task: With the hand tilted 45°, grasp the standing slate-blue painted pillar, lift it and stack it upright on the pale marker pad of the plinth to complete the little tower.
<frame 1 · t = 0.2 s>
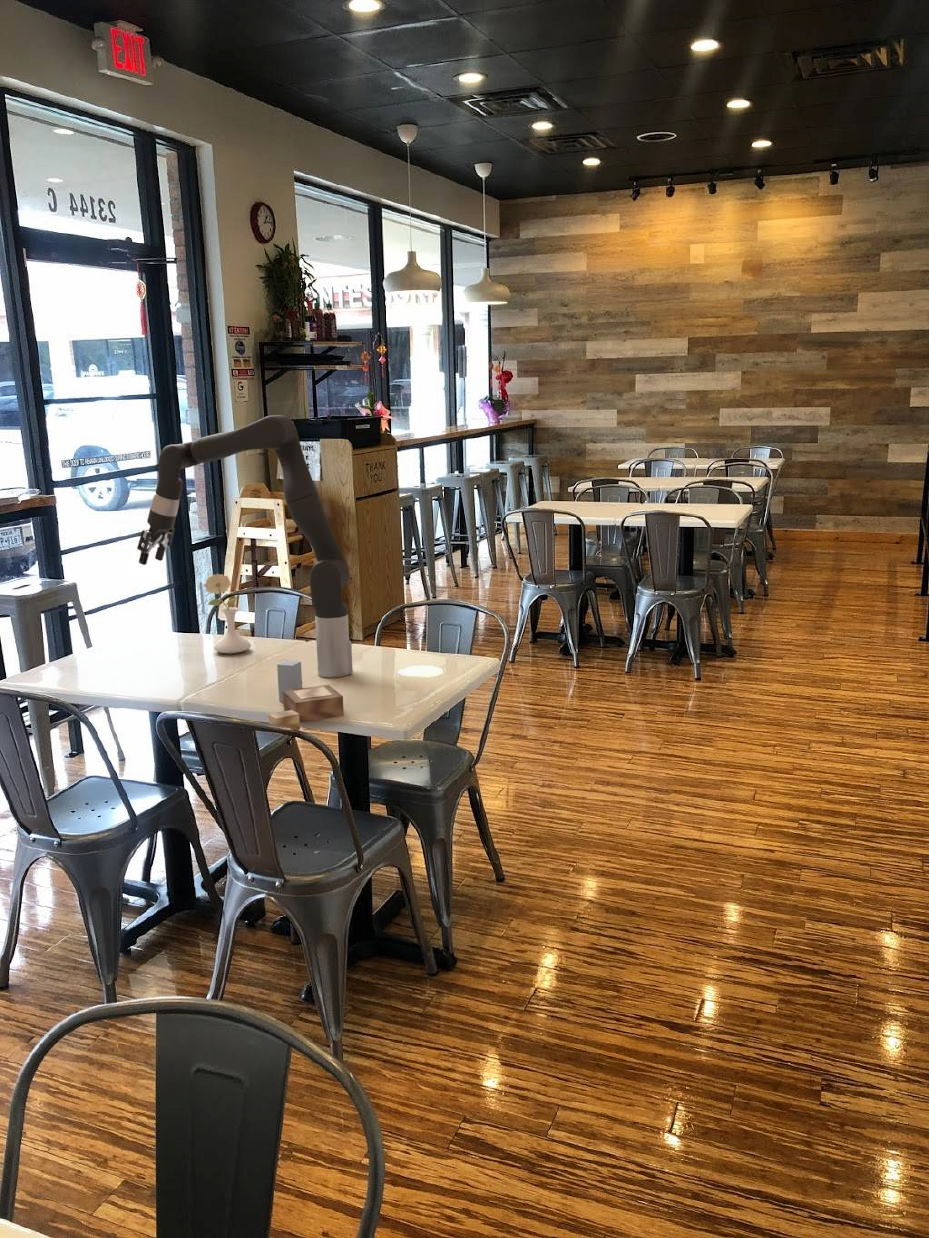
hand: (150, 561, 308), 31 cm above the table, tool tilted 20°, fingers open, 8 cm apart
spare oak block: (284, 730, 250), on the table
pillar: (291, 699, 275), on the table
flower in vase: (230, 652, 329), on the table
plinth: (313, 712, 263), on the table
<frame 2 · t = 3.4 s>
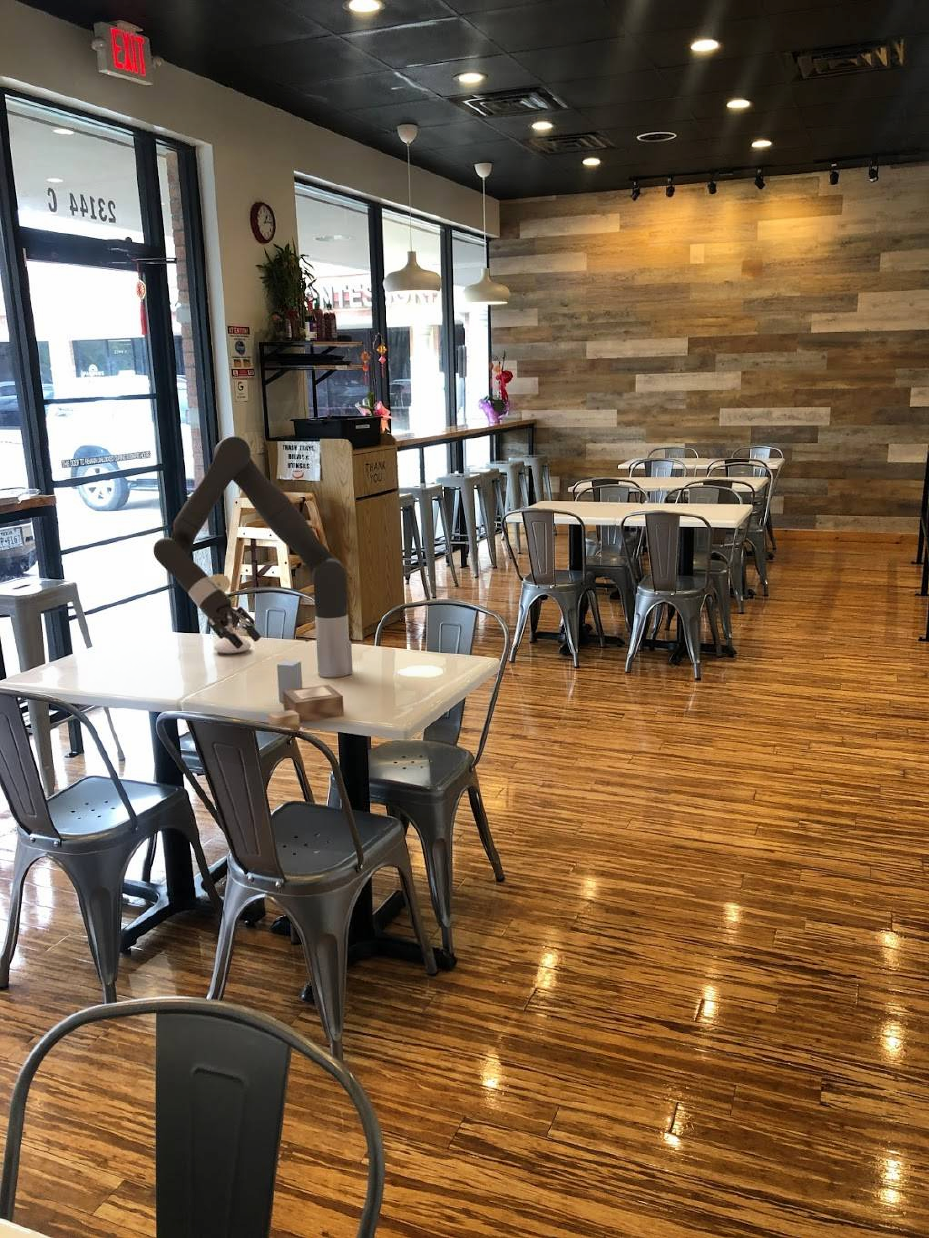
hand: (249, 642, 276), 15 cm above the table, tool tilted 45°, fingers open, 8 cm apart
nothing on the table moved.
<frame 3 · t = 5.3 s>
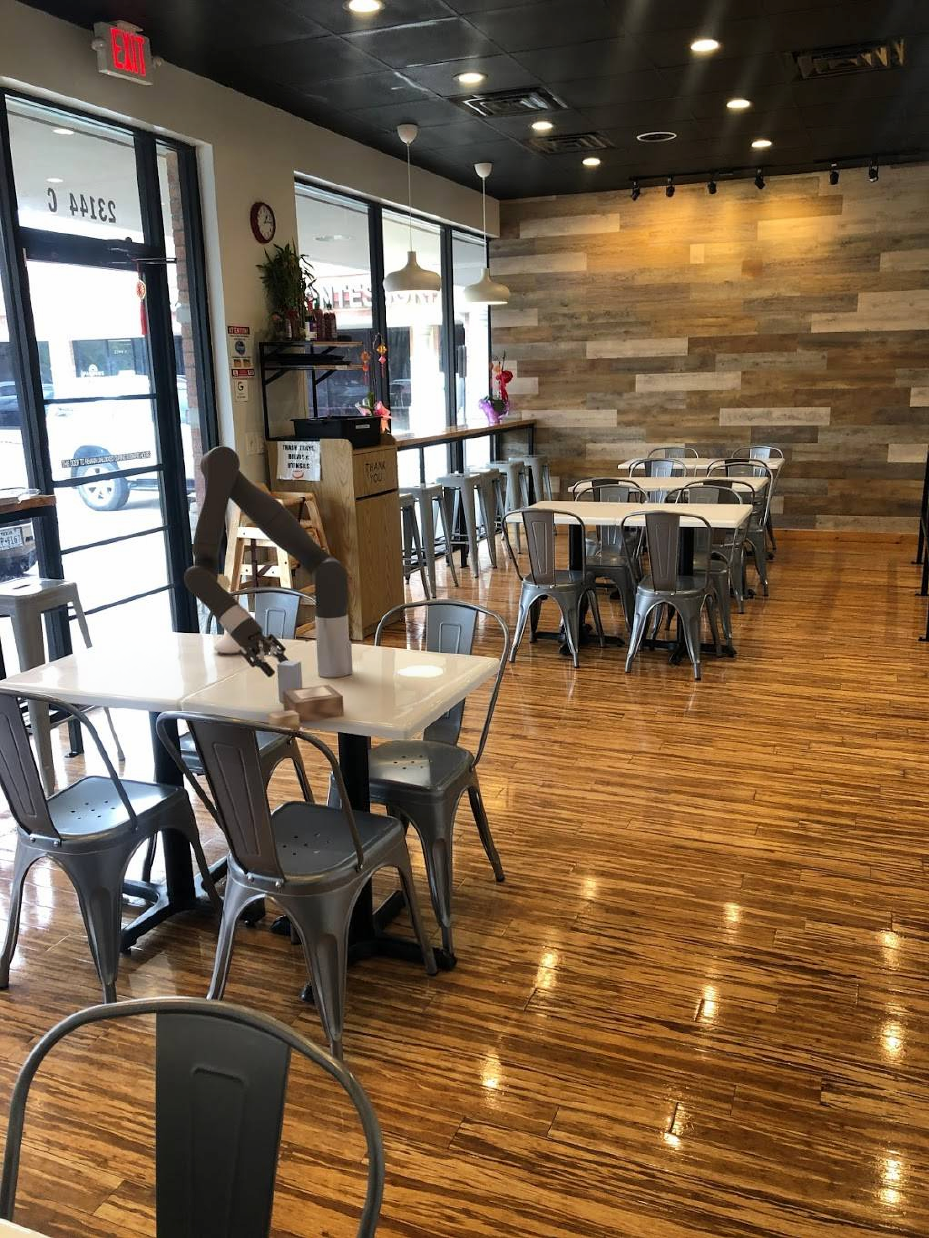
hand: (281, 671, 274), 8 cm above the table, tool tilted 45°, fingers open, 8 cm apart
nothing on the table moved.
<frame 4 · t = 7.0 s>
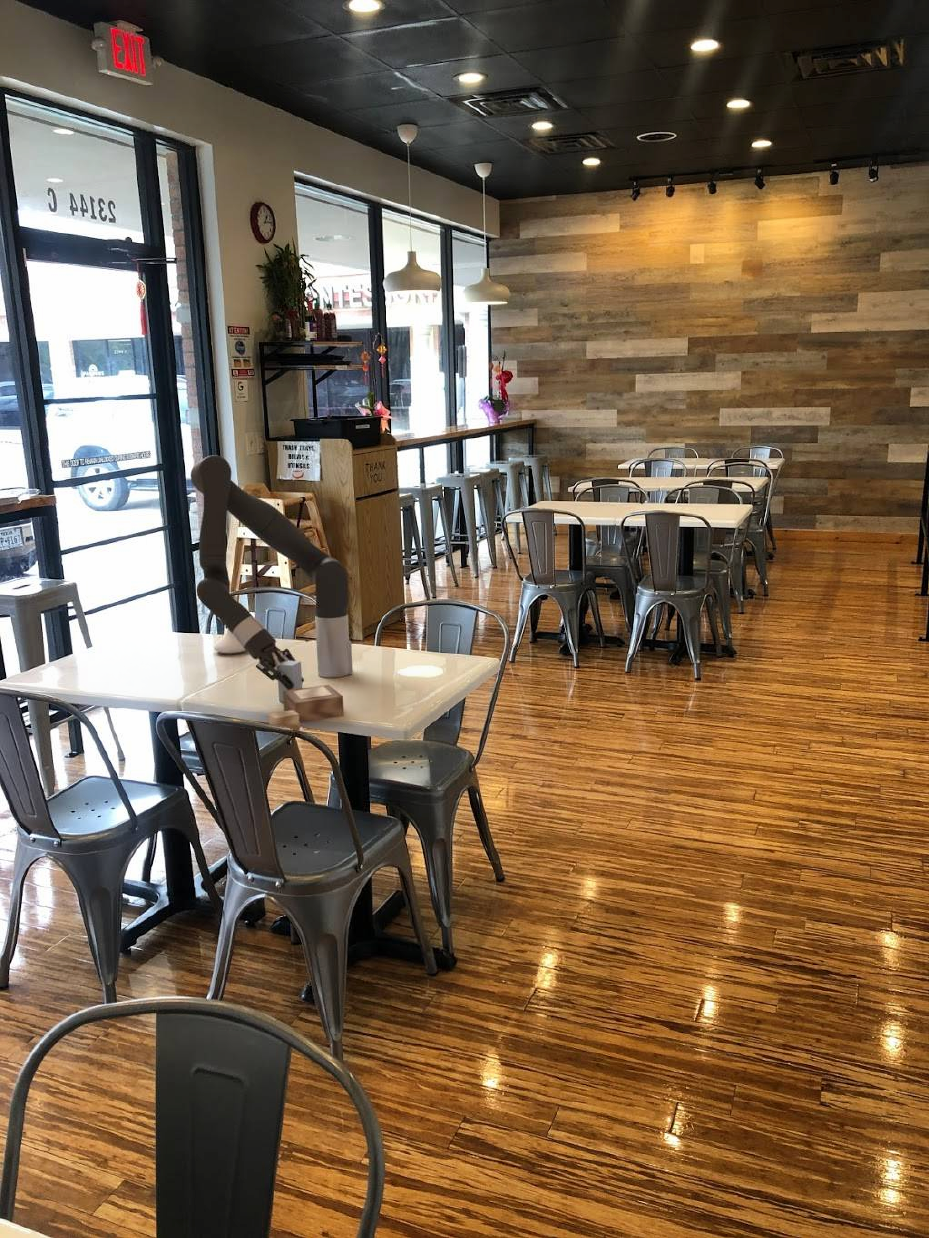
hand: (296, 685, 274), 4 cm above the table, tool tilted 45°, fingers closed on pillar, 4 cm apart
pillar: (291, 699, 275), on the table, touching gripper
everything else where it was.
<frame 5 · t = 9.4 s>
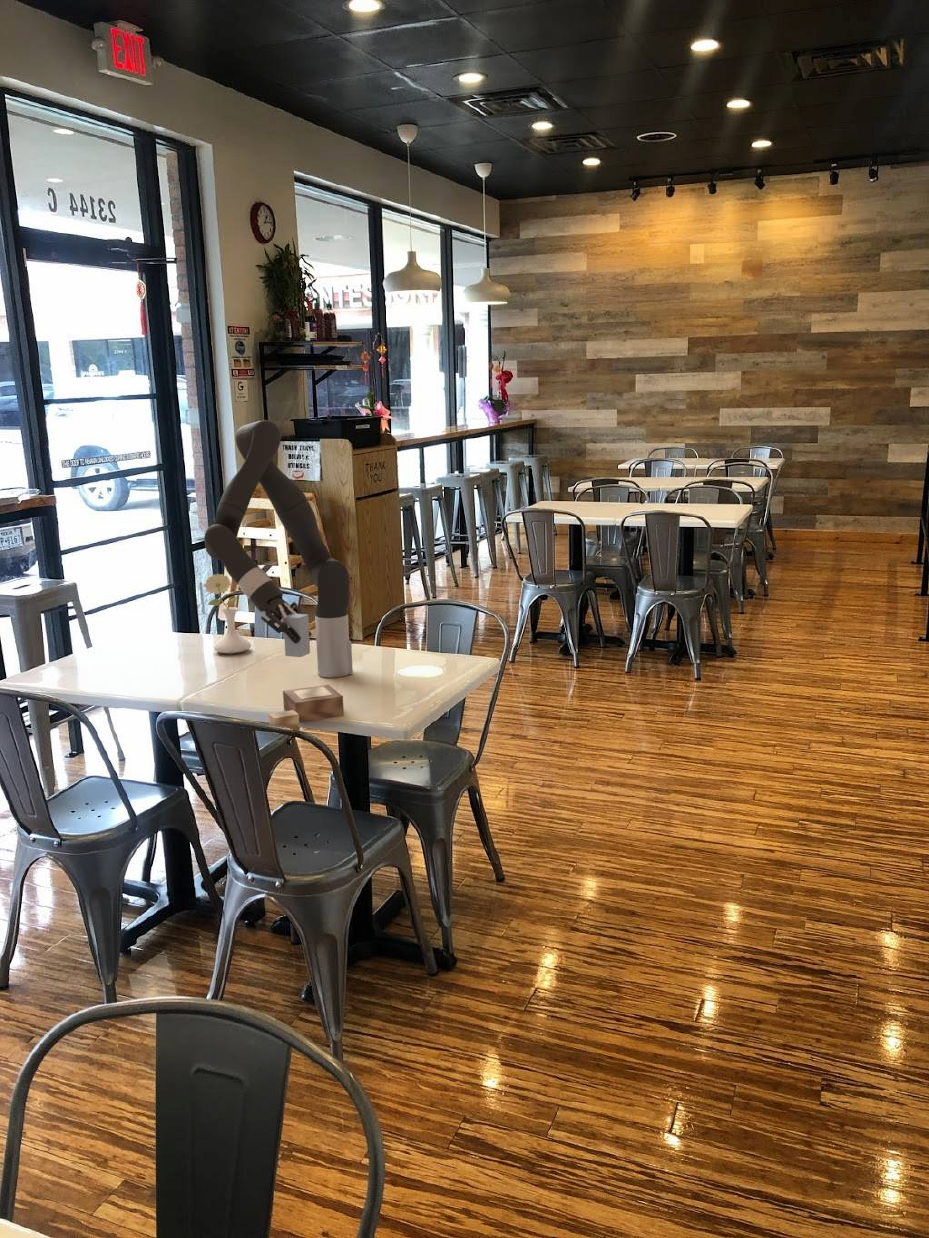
hand: (303, 639, 263), 18 cm above the table, tool tilted 45°, fingers closed on pillar, 4 cm apart
pillar: (297, 654, 265), point 14 cm above the table, touching gripper
everything else where it was.
when the fingers open (10 cm above the table, at t = 12.0 s): pillar stays where it is, resting on plinth.
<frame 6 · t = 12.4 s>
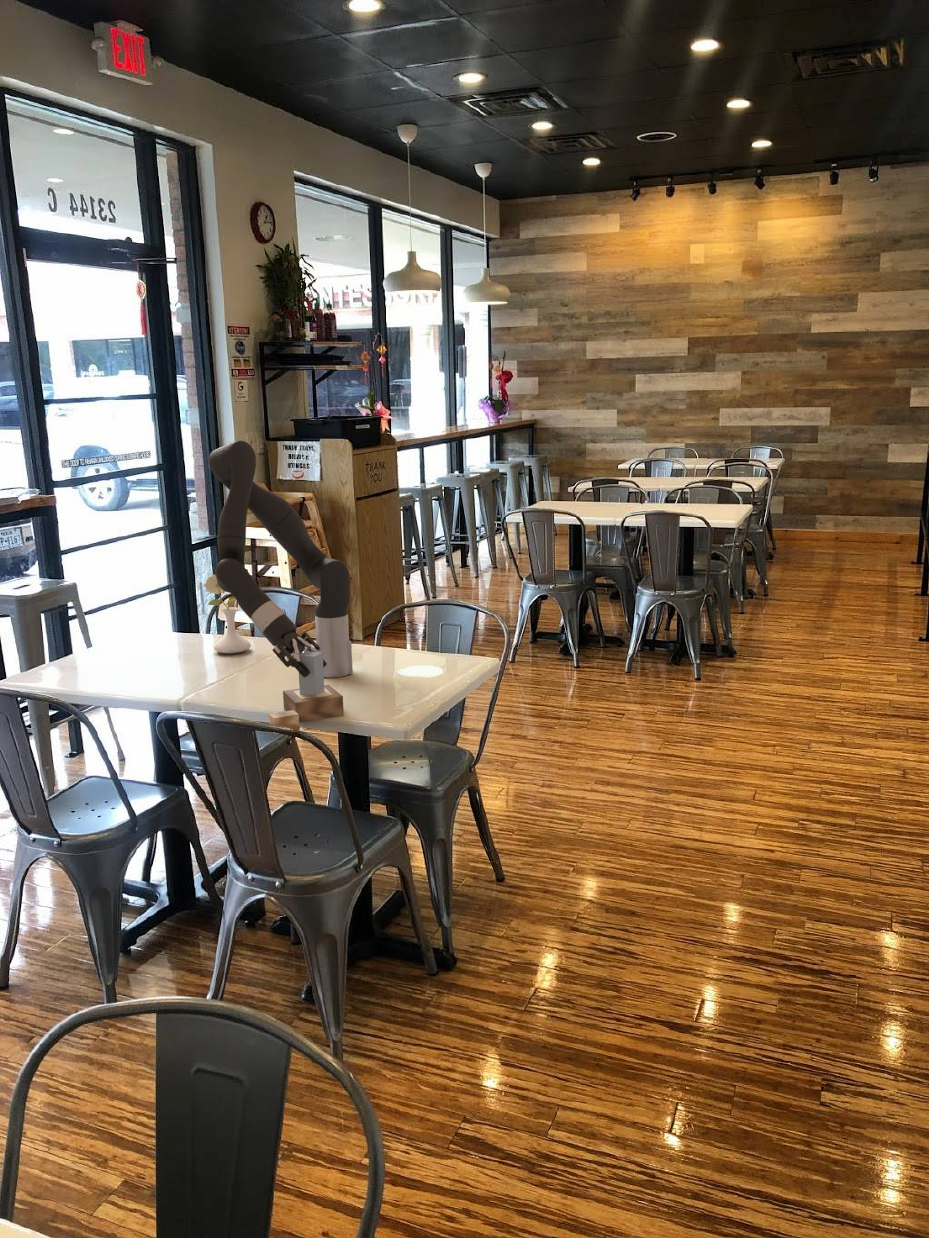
hand: (316, 671, 261), 11 cm above the table, tool tilted 45°, fingers open, 8 cm apart
pillar: (312, 692, 262), point 5 cm above the table, touching plinth
everything else where it was.
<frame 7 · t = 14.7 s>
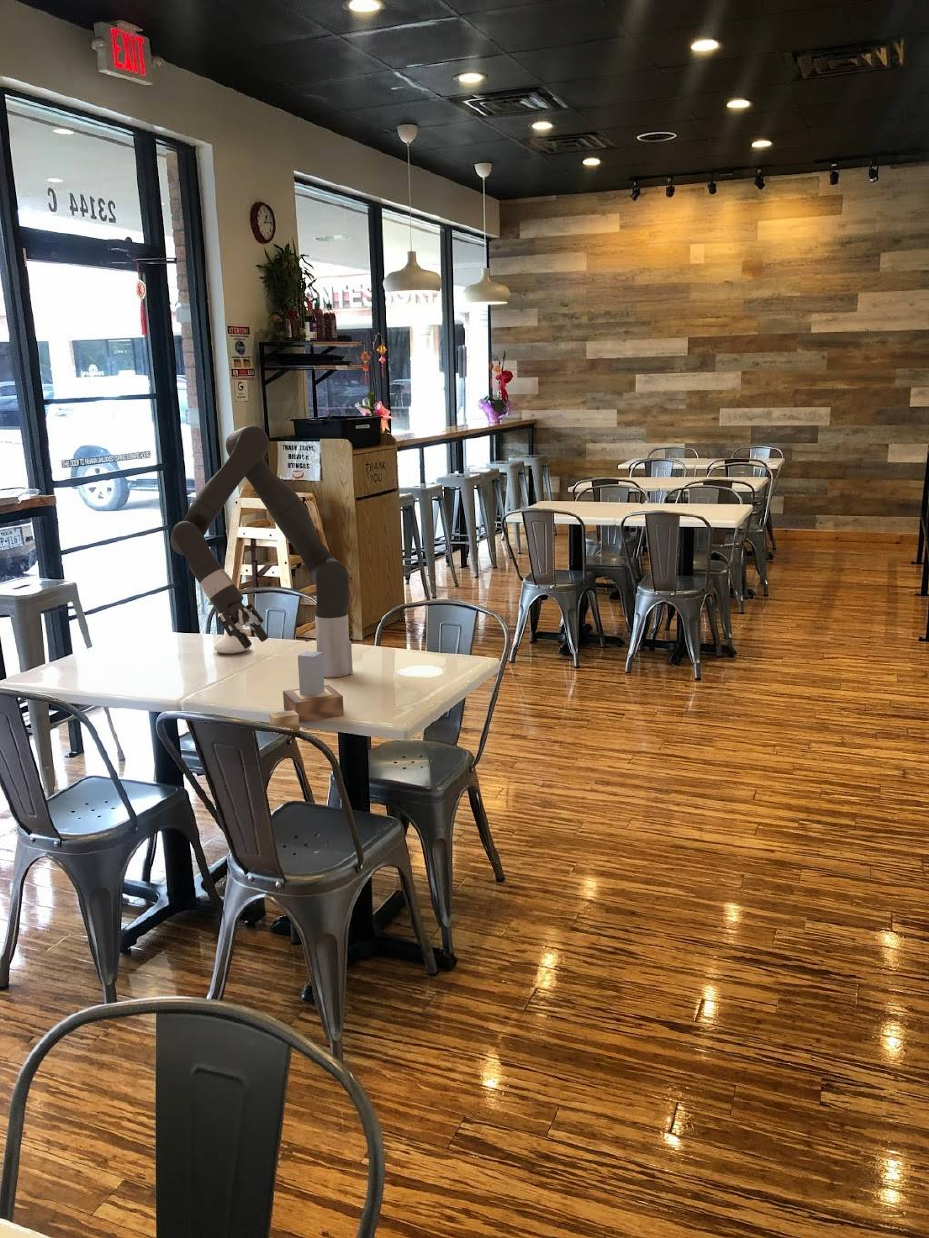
hand: (257, 643, 267), 16 cm above the table, tool tilted 35°, fingers open, 8 cm apart
nothing on the table moved.
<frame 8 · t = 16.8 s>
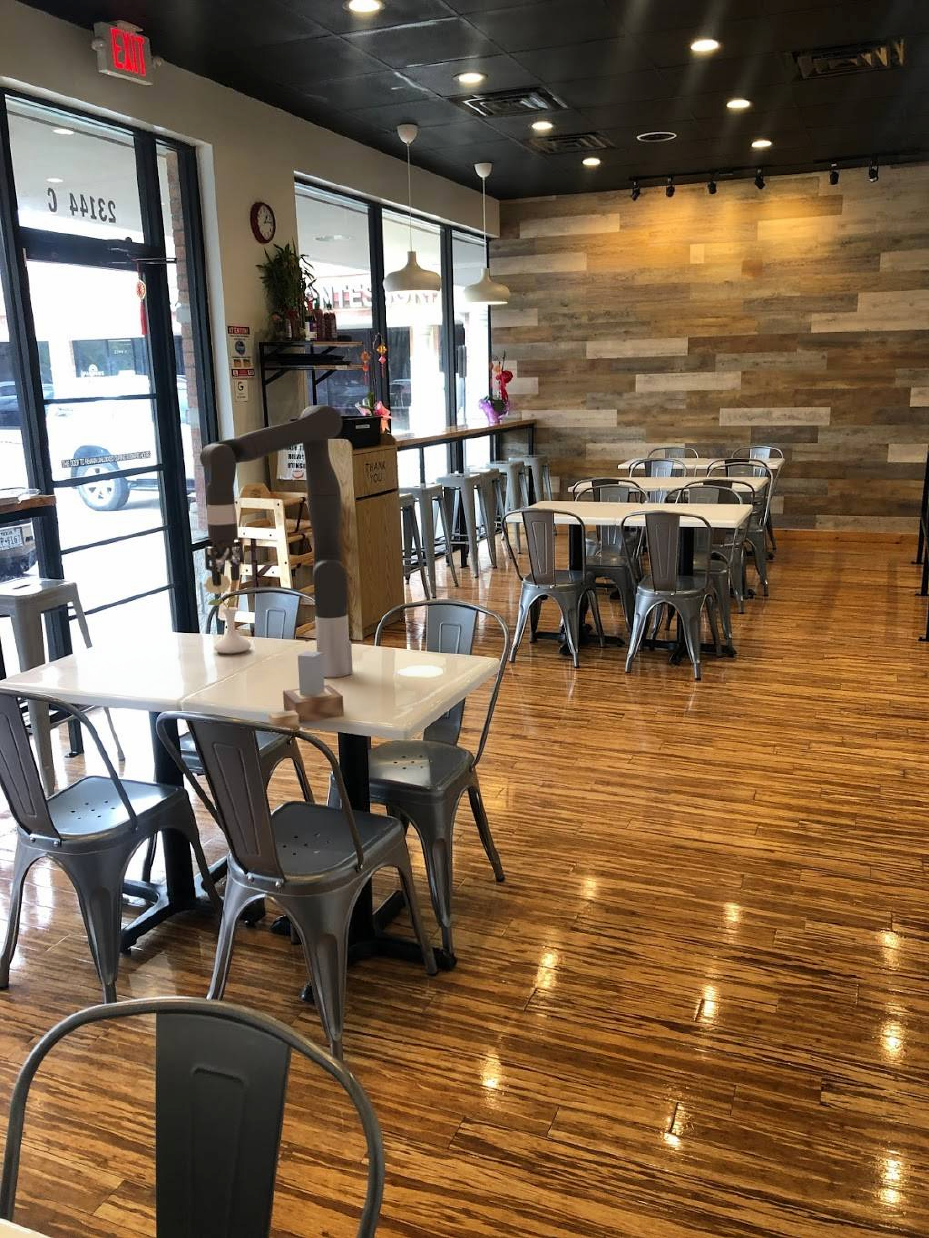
hand: (226, 582, 277), 30 cm above the table, tool pointing down, fingers open, 8 cm apart
nothing on the table moved.
at the end: pillar inside the target area on the plinth (0.1 cm from its centre), point 5.2 cm above the plinth's base; pillar tilted 0°; the gripper is holding nothing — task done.
